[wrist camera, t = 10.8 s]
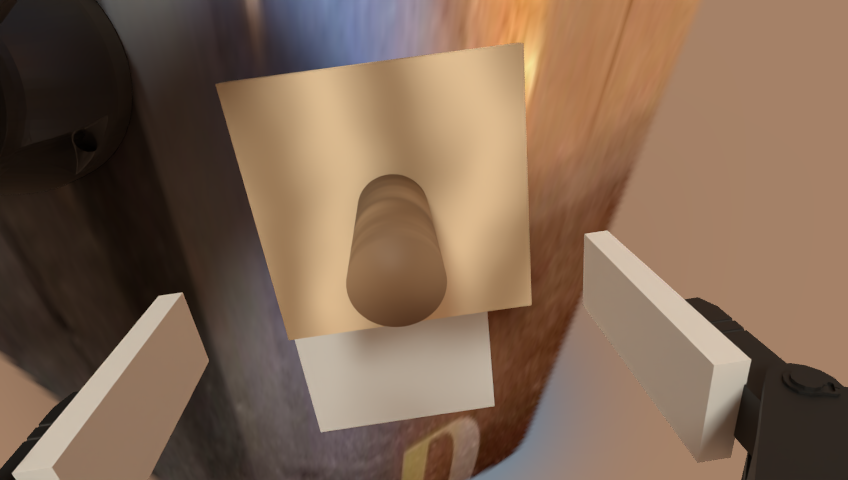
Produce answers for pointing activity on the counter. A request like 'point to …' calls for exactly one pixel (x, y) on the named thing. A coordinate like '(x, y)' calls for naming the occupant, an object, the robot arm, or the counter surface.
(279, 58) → the counter surface
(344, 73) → the oak cover
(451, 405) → the grey mat
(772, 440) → the robot arm
